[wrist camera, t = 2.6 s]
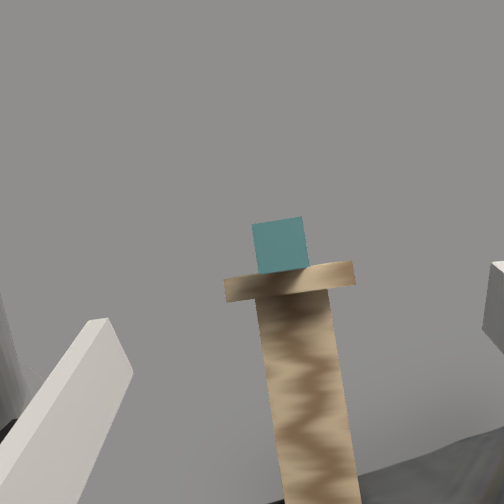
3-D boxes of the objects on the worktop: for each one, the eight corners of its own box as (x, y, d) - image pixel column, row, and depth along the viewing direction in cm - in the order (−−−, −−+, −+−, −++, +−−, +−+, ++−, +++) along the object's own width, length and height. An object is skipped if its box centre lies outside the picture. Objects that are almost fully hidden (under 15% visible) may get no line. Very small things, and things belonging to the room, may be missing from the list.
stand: (275, 643, 28) (223, 279, 30) (279, 531, 40) (242, 275, 42) (413, 638, 27) (352, 260, 29) (376, 524, 39) (334, 262, 41)
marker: (257, 276, 20) (249, 223, 21) (275, 270, 41) (271, 244, 41) (311, 268, 20) (303, 214, 20) (301, 266, 41) (297, 240, 41)
